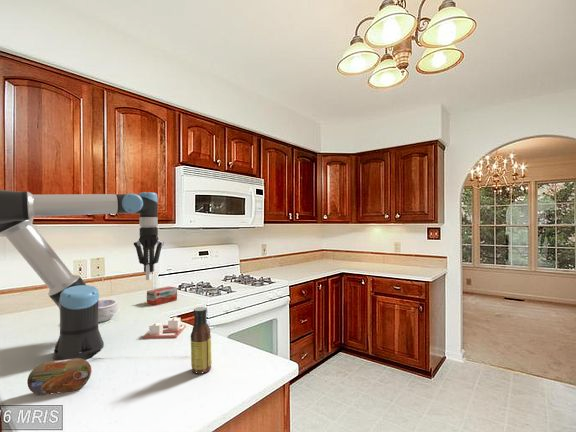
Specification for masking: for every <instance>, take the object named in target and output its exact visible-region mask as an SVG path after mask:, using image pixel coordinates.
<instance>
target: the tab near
mask: <svg viewBox="0 0 576 432" xmlns="http://www.w3.org/2000/svg"><path fill="white" fill-rule="evenodd" d="M163 325H164V322H161V321H160V322H159V320H157V321H156V322H152V323H150V324H149V328H148V329H149V330H148V331H149V335H164V333H163V330H164V328H163Z"/></svg>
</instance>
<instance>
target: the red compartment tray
mask: <svg viewBox="0 0 576 432" xmlns="http://www.w3.org/2000/svg"><path fill="white" fill-rule="evenodd" d="M186 327H187V325H186V324H181V328H180V329H179V330H168V324H163V334H162V335H149V330H148V331H147V332H146V333H145V334H144V335H143V336H142V338H143V339H145V340H146V339H177V338H178V337H179V336H180V335H181V333H182V332H183V331H184V330H185V328H186ZM171 333H172V334H171Z"/></svg>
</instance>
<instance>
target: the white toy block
mask: <svg viewBox="0 0 576 432" xmlns="http://www.w3.org/2000/svg"><path fill="white" fill-rule="evenodd" d="M181 319H182V318H181V317H178V316H173V317H171V318H169V319H168V321H167V325H168V328H167V330H179V329H180V328H181V325H182V324H181V322H182V321H181Z"/></svg>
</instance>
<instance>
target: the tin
mask: <svg viewBox="0 0 576 432" xmlns="http://www.w3.org/2000/svg"><path fill="white" fill-rule="evenodd" d="M92 373H93V371H92V365H91V364H90V362H89V361H87V359H81V358H75V359H67V360H59V361H55V360H51V361H50V360H49V361H46V362H42V363H41V364H39V365H38V366H36V367H34V368H33V369H32V371H31V372H30V373H29V375H28V377H27V380H26V381H27V388H28V389H29V390H30V392H31V393H33V394H34V395H38V396H47V394H48V395H52V394H51V393H55V394H59V393H58V392H62V393H67V392H66V391H70V392H74V391H73V390H76V391H78V390H81V389H82V388H83V387H84V386H85V385H86V384H87V383H88V381H89V380H90V379H91V375H92Z"/></svg>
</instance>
